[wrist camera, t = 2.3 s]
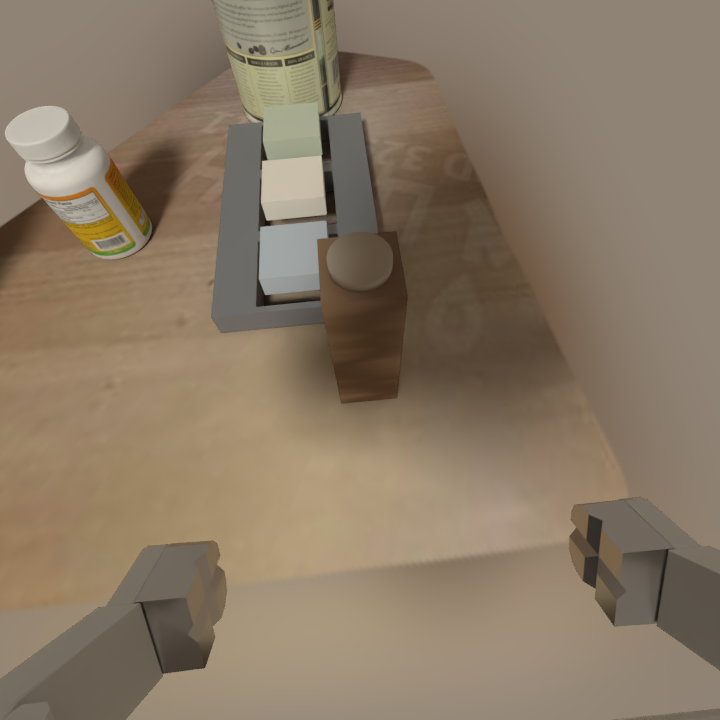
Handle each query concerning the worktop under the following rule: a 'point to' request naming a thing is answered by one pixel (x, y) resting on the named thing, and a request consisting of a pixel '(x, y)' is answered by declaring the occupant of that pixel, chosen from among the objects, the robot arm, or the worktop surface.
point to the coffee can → (282, 53)
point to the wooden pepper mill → (363, 312)
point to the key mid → (293, 188)
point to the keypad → (246, 215)
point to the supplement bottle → (79, 182)
